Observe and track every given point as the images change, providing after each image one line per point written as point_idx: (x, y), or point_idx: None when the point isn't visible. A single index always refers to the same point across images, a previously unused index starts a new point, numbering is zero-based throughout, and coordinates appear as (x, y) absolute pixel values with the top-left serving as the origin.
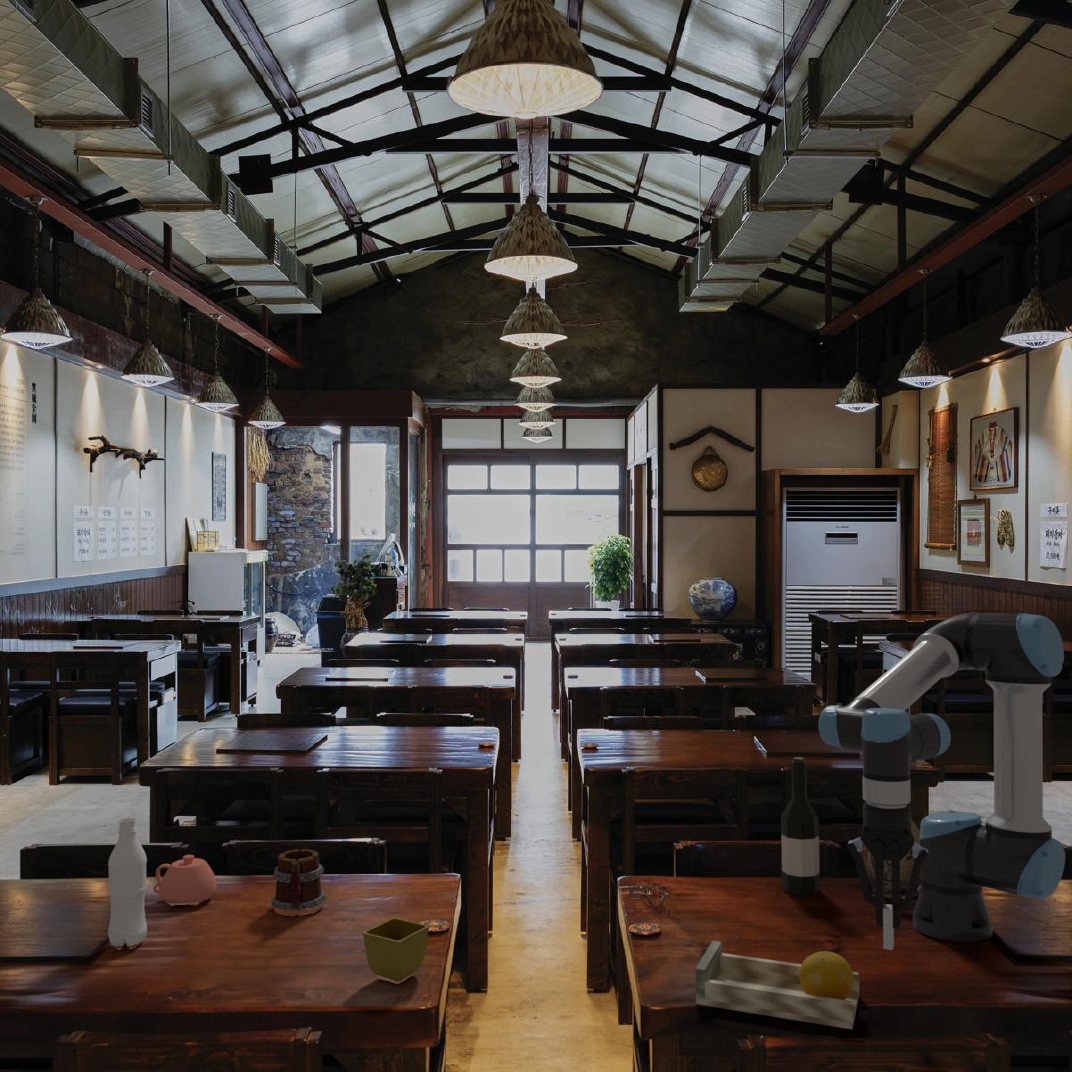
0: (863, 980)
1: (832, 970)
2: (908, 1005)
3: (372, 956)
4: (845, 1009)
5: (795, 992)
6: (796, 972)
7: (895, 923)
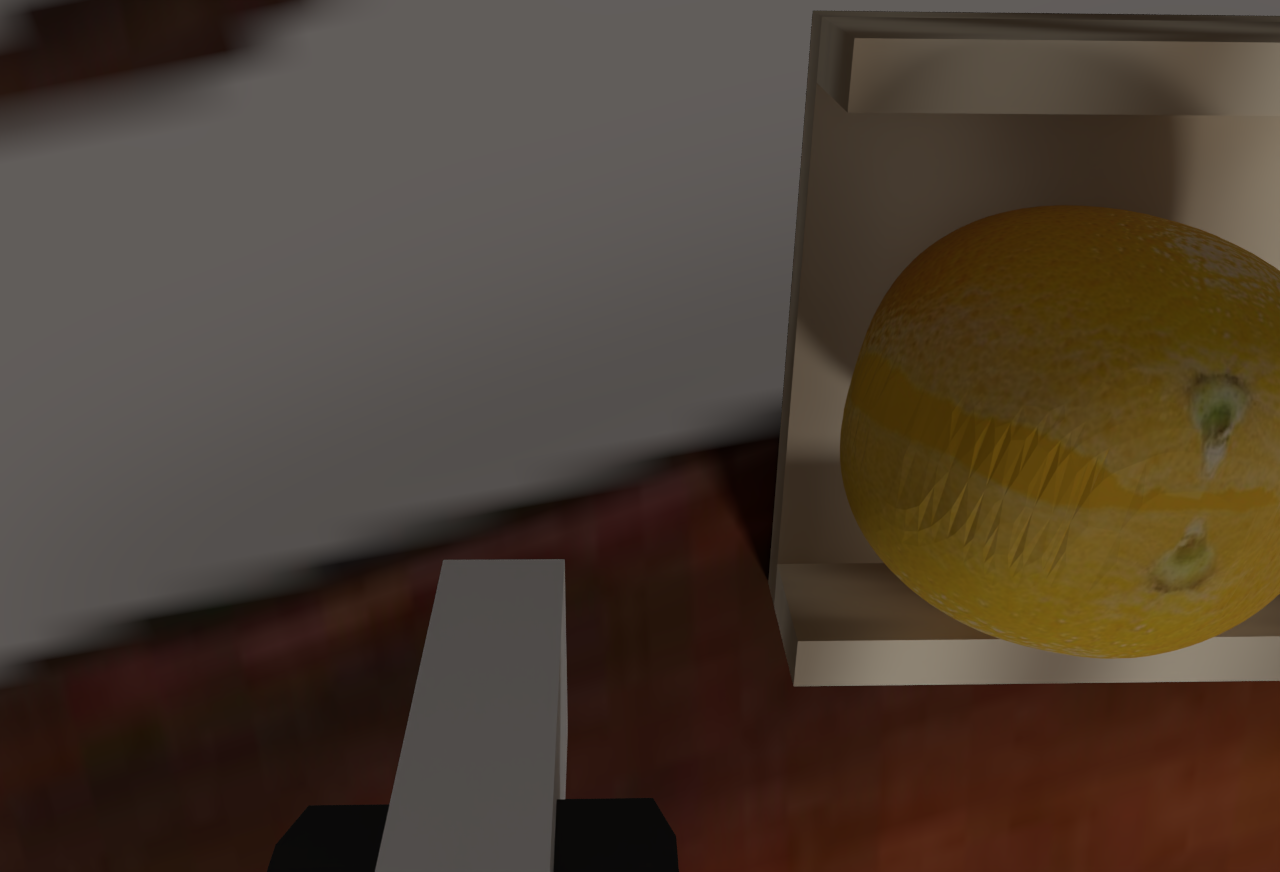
0: (745, 791)
1: (1097, 314)
2: (440, 554)
3: None
4: (899, 31)
5: None
6: None
7: (348, 866)
